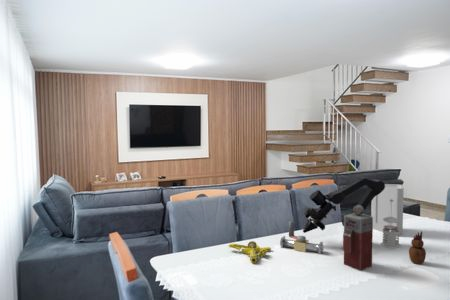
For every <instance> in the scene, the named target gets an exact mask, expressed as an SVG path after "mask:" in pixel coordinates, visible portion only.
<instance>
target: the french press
mask: <svg viewBox="0 0 450 300" xmlns="http://www.w3.org/2000/svg"><path fill="white" fill-rule="evenodd" d="M390 202H391V210H392V202H393V200H392V199H390ZM383 220H384V221H386V222H388V225H387V226H384V229H383V232H382V241H381V243H380V244H381V246H383V247H385V248H389V249H390V248H391V249H398V248H401V244H400V241H399V240H400V236H398V235H399V230H397V229H398V227H396V226H392V223H398V222H399V220H398V219H397V218H394V217H385V218H384V219H383ZM389 222H390V223H391V226H390V225H389ZM389 230H391V232H389Z"/></svg>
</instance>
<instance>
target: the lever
mask: <svg viewBox="0 0 450 300" xmlns="http://www.w3.org/2000/svg"><path fill="white" fill-rule="evenodd" d="M288 237H289V238H290V239H292V240H297V241H299V242H305V241H306V240H307V238H306V236H305V235H298V236H297V235H295V221H294V220H293V221H292V220H290V221H288Z"/></svg>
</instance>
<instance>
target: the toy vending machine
mask: <svg viewBox="0 0 450 300" xmlns="http://www.w3.org/2000/svg"><path fill="white" fill-rule="evenodd" d="M352 211H354V213H352V212H351V213H352V214H350V213H348V215H344V216H343V217H344V226H343V235H342V251H343V265H344V266H347V267H350V268H351V269H354V270H358V271H363V270H364V271H365V270H367V269H369V268H371V267H373V237H374V235H373V230H374V229H373V217H372V216H371V215H368V214H364V212H365V211H364V208H363V207H362V206H361V205H357V204H356V205H355V206H353V209H352Z"/></svg>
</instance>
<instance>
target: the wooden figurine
mask: <svg viewBox="0 0 450 300" xmlns="http://www.w3.org/2000/svg"><path fill="white" fill-rule="evenodd" d="M410 245H411V246H410V247H409V249H408V257H409V260H410V261H411V262H412V263H414V264H416V265H423V264H424V262H425V260H426V255H427V253H426V252H427V251H426V249H425V248H424V246H425V245H424V241H423V230H421V231H420V232H419V231H418V232H417V234H415V235H414V236H413V239H411V243H410Z"/></svg>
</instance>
